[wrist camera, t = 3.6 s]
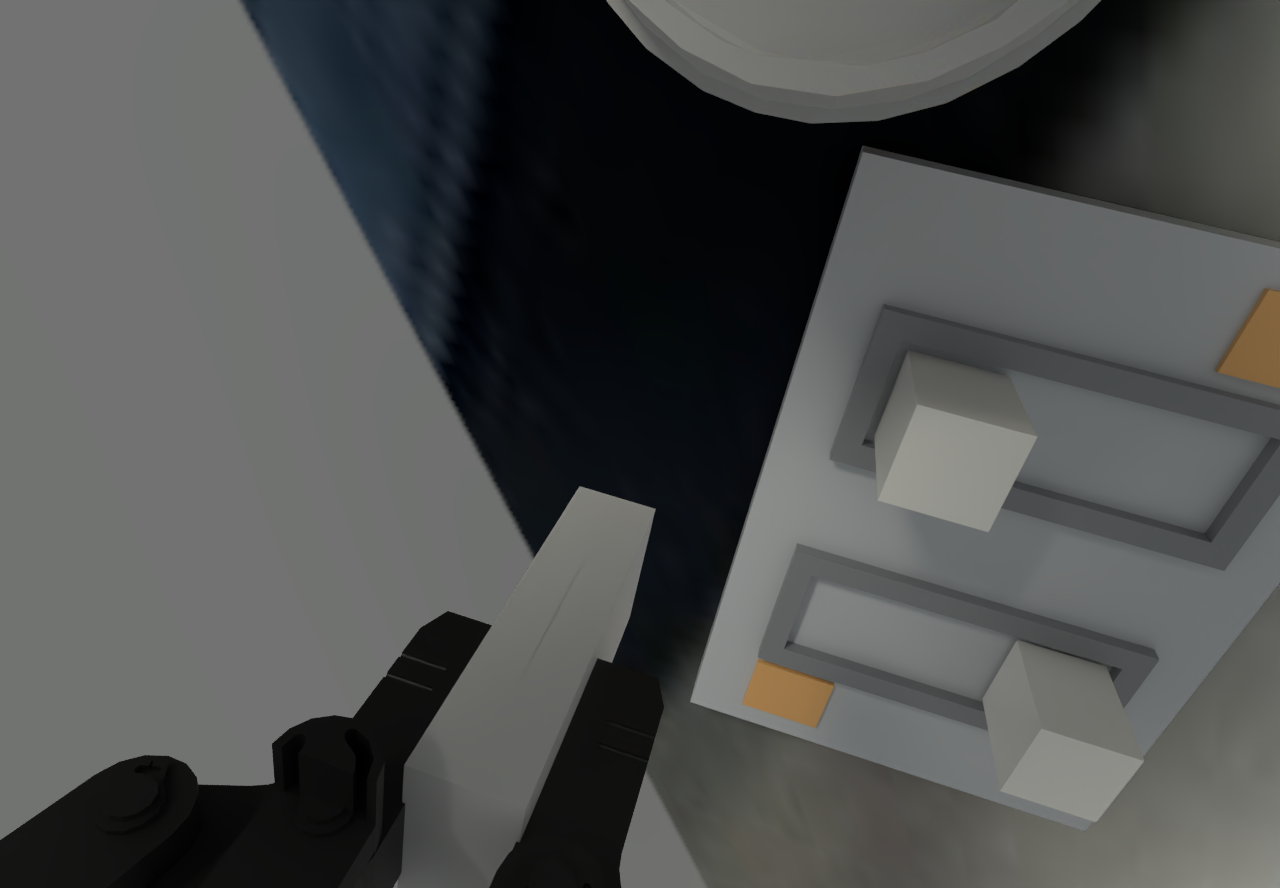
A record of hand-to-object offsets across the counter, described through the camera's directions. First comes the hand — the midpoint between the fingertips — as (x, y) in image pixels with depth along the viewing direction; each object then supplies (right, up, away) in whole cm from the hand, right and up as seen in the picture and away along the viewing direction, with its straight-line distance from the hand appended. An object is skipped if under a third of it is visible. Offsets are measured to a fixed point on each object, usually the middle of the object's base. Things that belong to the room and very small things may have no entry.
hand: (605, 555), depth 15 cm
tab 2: (+15, -6, +12) cm, 20 cm away
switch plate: (+13, -1, +12) cm, 17 cm away
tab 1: (+10, +3, +9) cm, 13 cm away
